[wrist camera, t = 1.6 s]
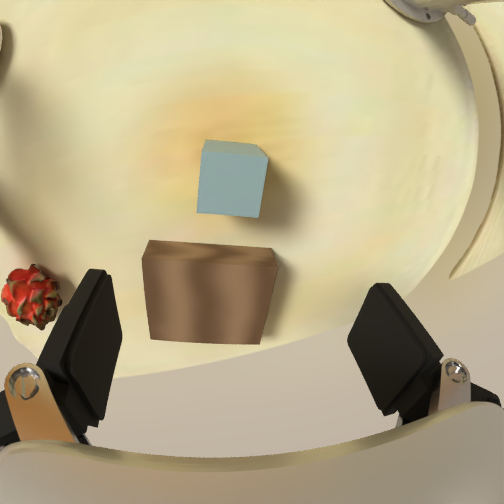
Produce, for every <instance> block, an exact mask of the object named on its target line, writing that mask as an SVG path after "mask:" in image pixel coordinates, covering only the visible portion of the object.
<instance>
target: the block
mask: <svg viewBox="0 0 504 504" xmlns="http://www.w3.org/2000/svg"><path fill="white" fill-rule="evenodd" d="M267 164H268V157H267V156H266V155H265V154H264V153H263V151H262V150H261V149H260V148H259V147H258V146H257V145H254V144H246V143H237V142H228V141H217V140H205V143H204V146H203V149H202V156H201V166H200V177H199V189H198V202H197V213H205V214H218V215H231V216H243V217H255V218H259V212H260V206H261V200H262V194H263V188H264V182H265V176H266V170H267Z"/></svg>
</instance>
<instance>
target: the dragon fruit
mask: <svg viewBox="0 0 504 504" xmlns="http://www.w3.org/2000/svg"><path fill="white" fill-rule="evenodd" d="M34 265H35V264H31V266H30V268H29V269H28V270H23V269H15V270H13V271H12V272H11V273H10V274H9V275H8V278H7V279H6V281H7V284H5V285H4V288H3V289H2V293H1V300H2V302H3V303H5V305H6V309H7V313H8V315H9V316H11V317H16V321H19V322H21V323H22V324H25V325H27V326H28V325H29V324H33V325H36V327H37V328H39V329H40V330H44V329H45V325H46V324H48V323H49V322H52V321H54V320H55V317H56V313H57V310H58V307H59V306H61V305H62V300H61V298H60V297H59V295H58V294H57V293H56V292H55V291H54V289H55V288H56V290H57V289H58V288H59V287H60V285H59V283H58V282H57V281H56V280H52V279H50V278H49V277H46V276H45V275H44V274H42V272H40V270H39V269H38V268H36V267H35V266H34Z"/></svg>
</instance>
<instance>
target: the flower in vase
mask: <svg viewBox="0 0 504 504" xmlns="http://www.w3.org/2000/svg"><path fill="white" fill-rule="evenodd" d="M1 45H2V29H1V26H0V50H1Z"/></svg>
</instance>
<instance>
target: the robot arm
mask: <svg viewBox="0 0 504 504" xmlns="http://www.w3.org/2000/svg"><path fill="white" fill-rule="evenodd" d="M385 1H386V2H387V3H388V4H389V5H390V6H391V7H393V8H394V9H395V10H396V11H398V12H399V13H401V14H403V15H404V16H406V17H408V18H410V19H412V20H414V21H418V22H422V23H431V22H436V21H439V20H441V19H442V18H443V17H444V16H445V14H446V12H450V13H452V14H455V15H458V16H459V17H460V18H461V19H462V20H463V21H464V22H466V23H467V24H468V25H474V24H475V22H476V18H475V17H474V16H473V15H472V14H471V13H470V12H468V11H467V10H466V9H464V8H463V7H462V5H463V6H466V5H467V4H476V3H486V2H503V1H504V0H385ZM347 342H348V346H349V348H350V350H351V352H352V354H353V356H354V358H355V360H356V362H357V364H358V366H359V368H360V371H361V372H362V375H363V377H364V379H365V381H366V383H367V385H368V387H369V390H370V392H371V394H372V396H373V398H374V401H375V403H376V405H377V407H378V409H380V410H381V411H382V413H383V415H384V416H387V415H390V414H394V413H395V412H396V411H397V410H398V412H399V416H398V420H397V424H396V427H395V428H394V429H391V430H388V431H385V432H381V433H378V434H375V435H371V436H368V437H364V438H360V439H357V440H353V441H349V442H344V443H340V444H336V445H331V446H326V447H322V448H316V449H310V450H304V451H298V452H290V453H283V454H274V455H265V456H250V457H231V458H195V457H193V458H192V457H175V456H162V455H151V454H141V453H133V452H127V451H120V450H114V449H108V448H102V447H96V446H92V445H91V444H90V442H89V440H88V438H87V437H86V435H85V433H86V431H87V426H93V427H98V424H99V420H103V419H104V416H105V411H106V406H107V401H108V396H109V392H110V386H111V382H112V378H113V374H114V370H115V366H116V362H117V358H118V354H119V350H120V346H121V343H122V329H121V325H120V320H119V316H118V311H117V306H116V300H115V295H114V289H113V283H112V277H111V275H107V273H106V271H105V270H100V269H89V270H88V271H87V273H86V274H85V276H84V278H83V279H82V281H81V283H80V285H79V286H78V288H77V290H76V292H75V293H74V295H73V297H72V299H71V300H70V302H69V304H68V305H66V306H65V307H64V308H63V310H62V312H61V314H60V316H59V318H58V320H57V322H56V323H55V325H54V327H53V329H52V331H51V333H50V335H49V338H48V340H47V342H46V344H45V346H44V348H43V350H42V352H41V355H40V357H39V359H38V362H37V364H36V365H34V364H32V363H23V364H19V365H17V366H15V367H13V368H12V369H11V370H10V372H9V373H8V375H7V376H6V379H5V384H4V387H5V390H3V391H1V392H0V504H504V409H503V408H501V403H500V400H499V398H498V396H497V395H496V394H493V393H492V392H490V391H488V390H486V389H484V388H482V387H479V386H477V385H475V384H473V383H471V382H470V374H469V372H468V369H467V368H466V367H465V366H464V364H462V363H461V362H460V361H458V360H456V359H453V358H448V359H446V360H444V361H443V363H442V364H440V362H439V361H440V360H441V358H442V357H443V356H444V355H443V353H442V352H441V350H440V349H439V347H438V346H437V345H436V343H435V342H434V340H433V339H432V338H431V336H430V335H429V333H428V332H427V331H426V329H425V328H424V327H423V325H422V324H421V323H420V321H419V320H418V319H417V317H416V316H415V315H414V313H413V312H412V311H411V310H410V308H409V307H408V306H407V304H406V303H405V302H404V300H403V299H402V298H401V297H400V295H399V294H398V293H397V292H396V290H395V289H394V288H393V287H392V286H391V285H390V284H389V283H375V284H374V285H373V287H371V288H370V289H369V291H368V294H367V296H366V298H365V301H364V303H363V305H362V307H361V310H360V312H359V314H358V316H357V318H356V320H355V322H354V325H353V327H352V329H351V331H350V333H349V335H348V339H347Z"/></svg>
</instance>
